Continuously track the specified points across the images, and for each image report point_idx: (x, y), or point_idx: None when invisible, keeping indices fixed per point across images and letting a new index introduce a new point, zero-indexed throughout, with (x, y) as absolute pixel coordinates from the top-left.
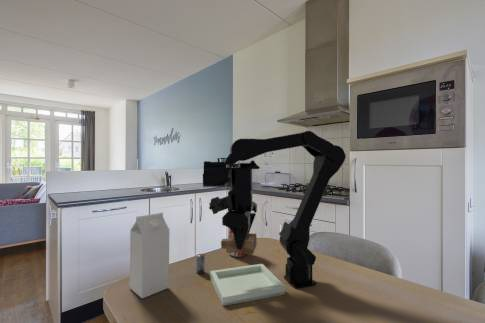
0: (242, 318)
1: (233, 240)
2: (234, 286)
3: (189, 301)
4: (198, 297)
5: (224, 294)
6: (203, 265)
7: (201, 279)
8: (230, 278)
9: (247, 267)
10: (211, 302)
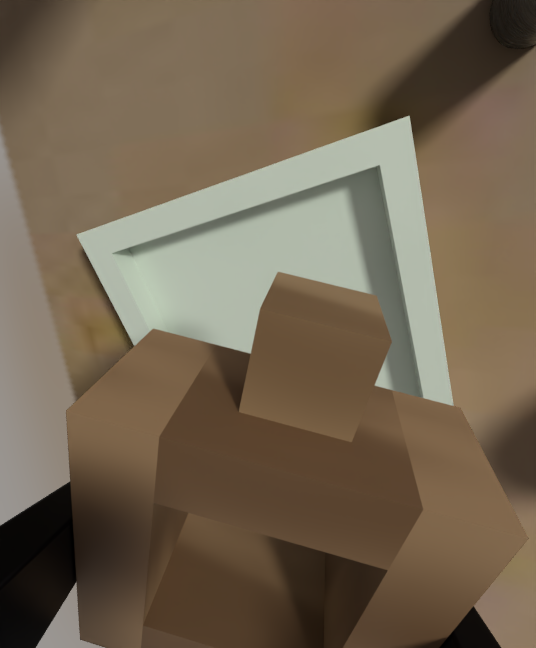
0: (48, 303)
1: (93, 498)
2: (253, 287)
3: (109, 18)
4: (157, 74)
5: (103, 242)
6: (532, 19)
7: (390, 45)
8: (348, 268)
9: (423, 384)
10: (123, 165)
